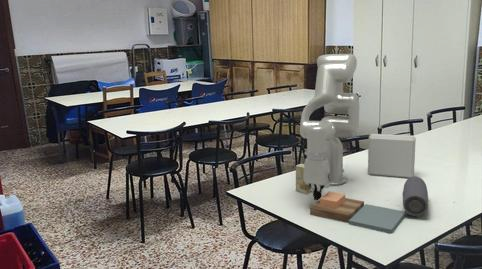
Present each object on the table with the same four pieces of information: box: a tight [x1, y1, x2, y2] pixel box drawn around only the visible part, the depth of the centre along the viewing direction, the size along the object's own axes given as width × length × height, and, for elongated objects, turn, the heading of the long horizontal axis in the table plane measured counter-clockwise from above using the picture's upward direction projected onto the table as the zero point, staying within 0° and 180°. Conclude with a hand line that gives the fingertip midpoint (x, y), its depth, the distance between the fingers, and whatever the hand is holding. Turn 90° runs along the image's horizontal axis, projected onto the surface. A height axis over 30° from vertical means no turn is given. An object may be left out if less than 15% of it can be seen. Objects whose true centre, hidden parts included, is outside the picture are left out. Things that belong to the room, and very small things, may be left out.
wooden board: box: [309, 197, 365, 224], centre depth 170 cm, size 16×16×3 cm
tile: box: [319, 191, 346, 209], centre depth 171 cm, size 9×7×3 cm
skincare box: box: [295, 163, 313, 195], centre depth 193 cm, size 6×4×12 cm
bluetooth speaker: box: [402, 175, 429, 217], centre depth 169 cm, size 23×9×10 cm, turn 159°
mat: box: [348, 203, 407, 234], centre depth 161 cm, size 18×16×2 cm
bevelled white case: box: [367, 133, 417, 179], centre depth 208 cm, size 21×8×20 cm, turn 65°
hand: (317, 199), depth 175 cm, fingers closed
